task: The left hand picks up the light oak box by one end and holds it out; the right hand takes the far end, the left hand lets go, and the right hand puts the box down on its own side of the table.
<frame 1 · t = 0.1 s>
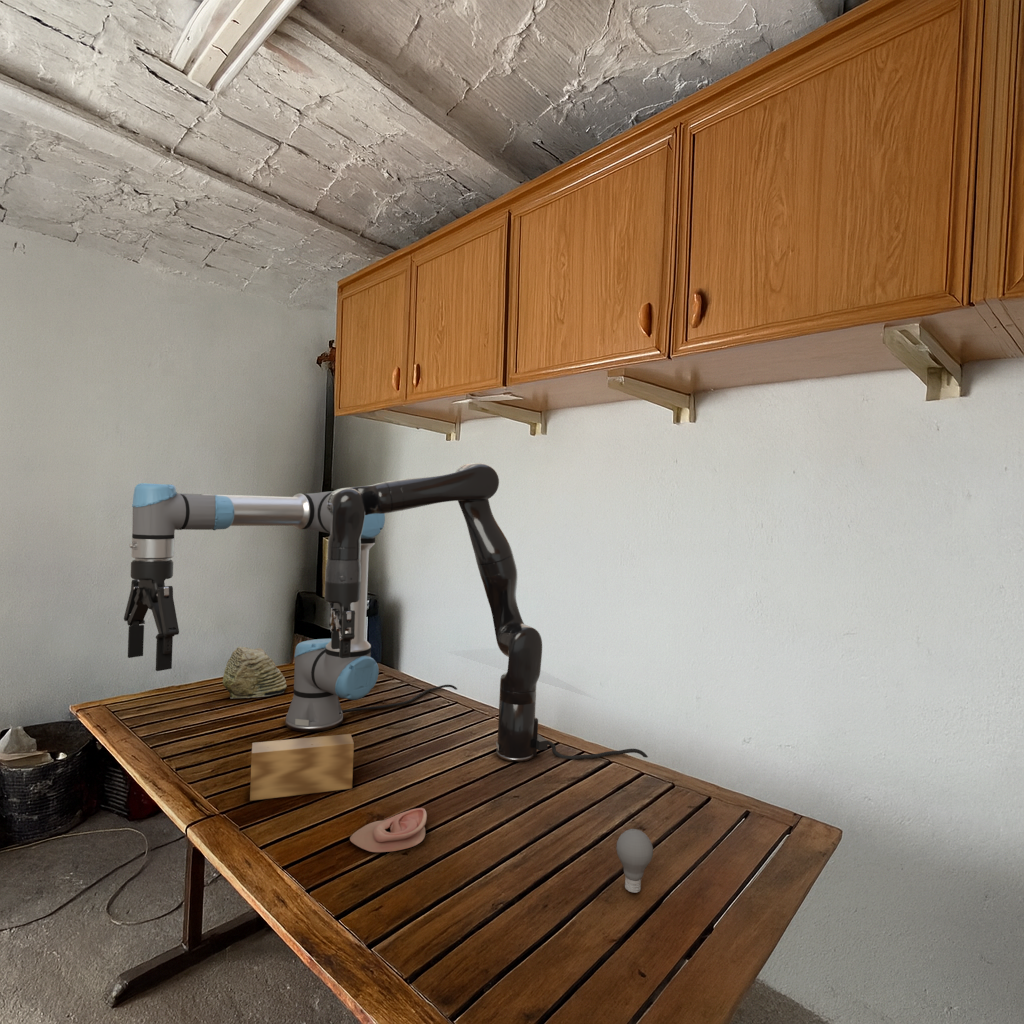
left hand: (149, 663, 129), 28 cm above the table, tool pointing down, fingers open, 13 cm apart
right hand: (340, 653, 139), 29 cm above the table, tool pointing down, fingers open, 8 cm apart
box: (301, 788, 137), on the table
anatomical model: (388, 837, 119), on the table
fossil: (254, 694, 198), on the table
light bulb: (632, 891, 106), on the table
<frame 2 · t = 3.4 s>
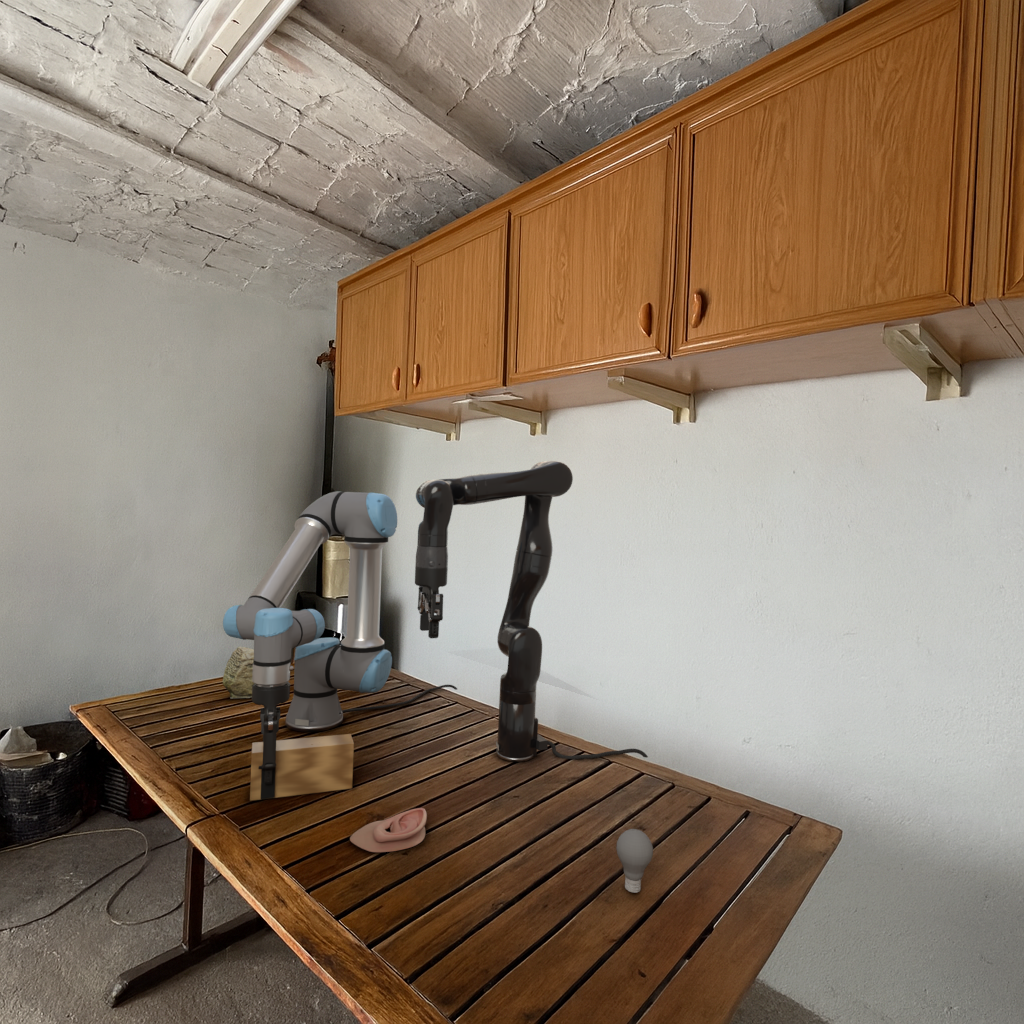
left hand: (267, 790, 135), 0 cm above the table, tool pointing down, fingers closed on box, 6 cm apart
right hand: (428, 634, 148), 32 cm above the table, tool pointing down, fingers open, 8 cm apart
box: (301, 788, 137), on the table, touching left hand
everything else where it was.
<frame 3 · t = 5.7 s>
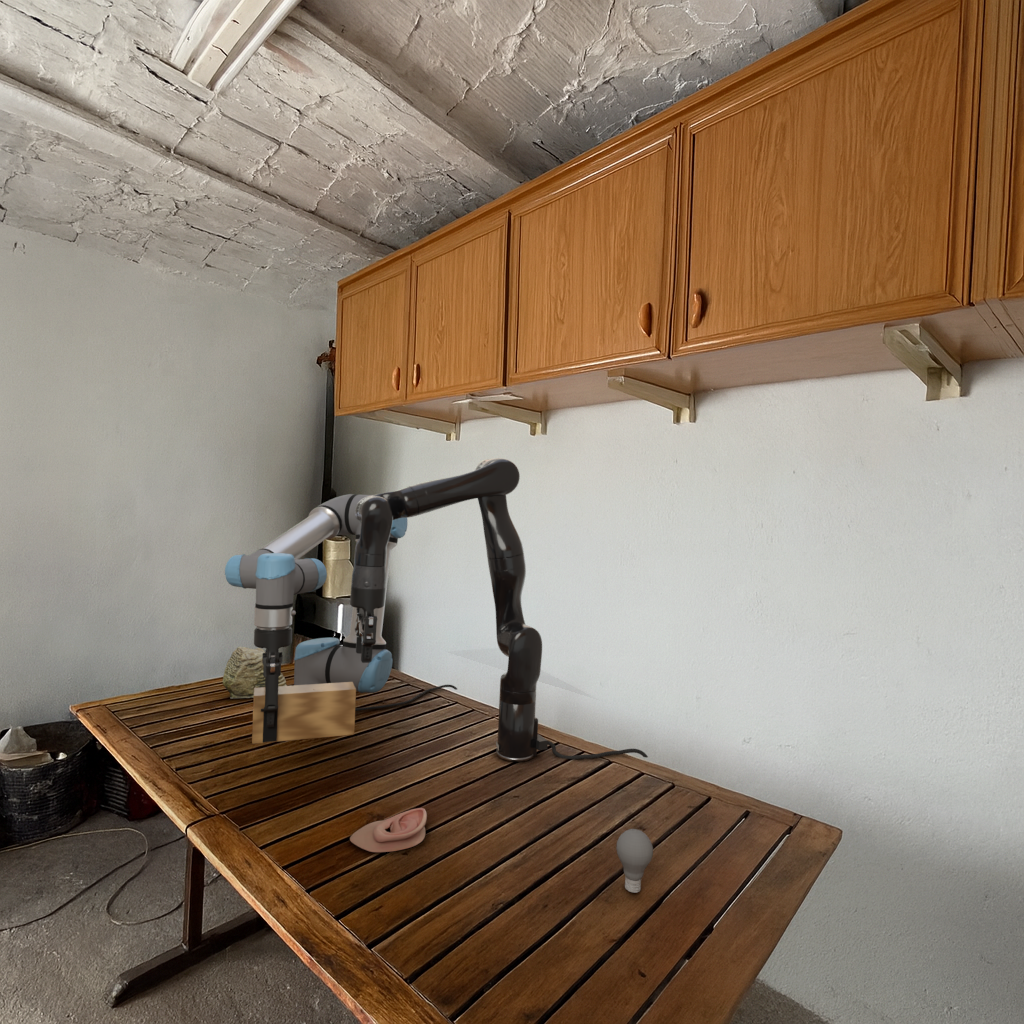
left hand: (269, 735, 134), 12 cm above the table, tool pointing down, fingers closed on box, 6 cm apart
right hand: (363, 657, 142), 28 cm above the table, tool pointing down, fingers open, 8 cm apart
box: (303, 734, 137), point 12 cm above the table, touching left hand
everything else where it was.
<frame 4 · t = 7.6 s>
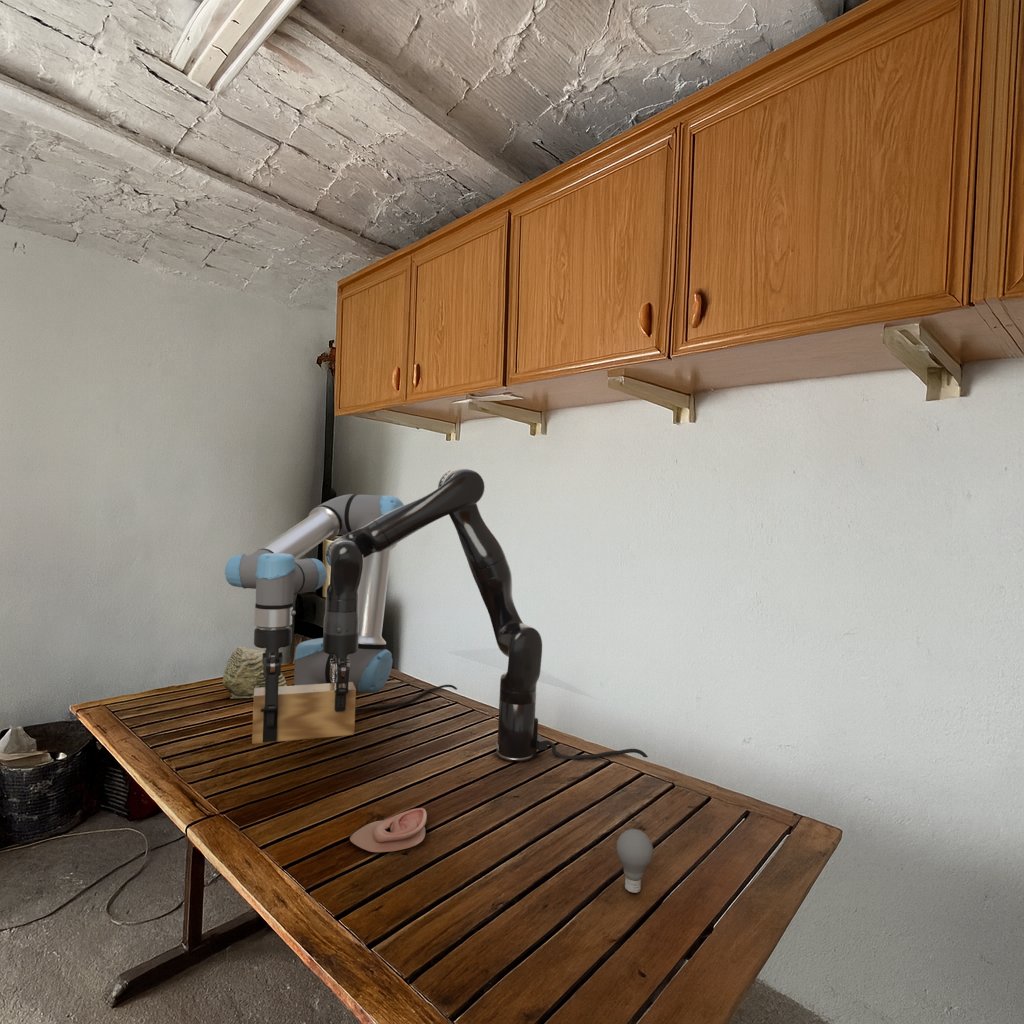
left hand: (269, 735, 134), 12 cm above the table, tool pointing down, fingers closed on box, 6 cm apart
right hand: (338, 705, 139), 17 cm above the table, tool pointing down, fingers closed on box, 5 cm apart
box: (303, 734, 137), point 12 cm above the table, touching left hand, right hand
everything else where it was.
when the left hand's fingers open (12 cm above the table, at t = 8.5 s): box stays where it is, held by the right hand.
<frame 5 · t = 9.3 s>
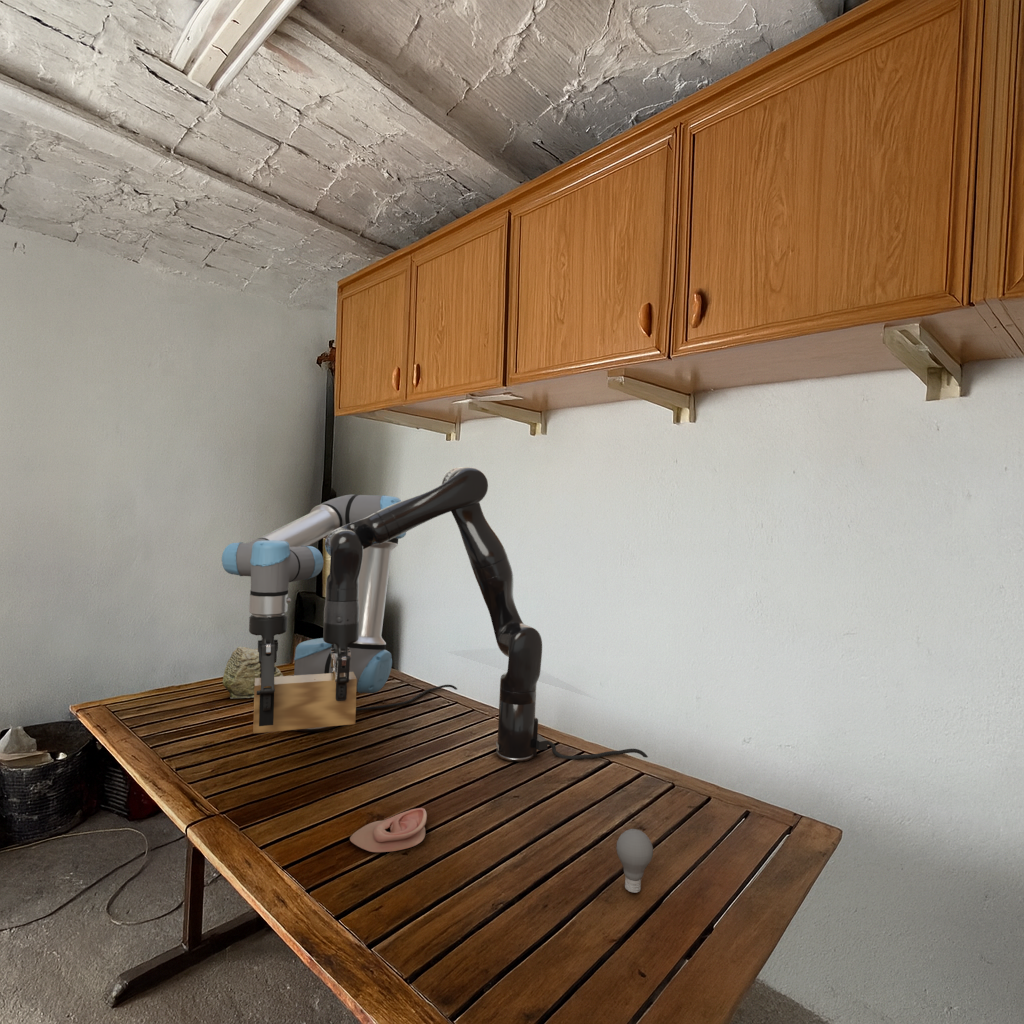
left hand: (265, 713, 134), 17 cm above the table, tool pointing down, fingers open, 13 cm apart
right hand: (339, 695, 139), 20 cm above the table, tool pointing down, fingers closed on box, 5 cm apart
box: (304, 724, 137), point 14 cm above the table, touching right hand
everything else where it was.
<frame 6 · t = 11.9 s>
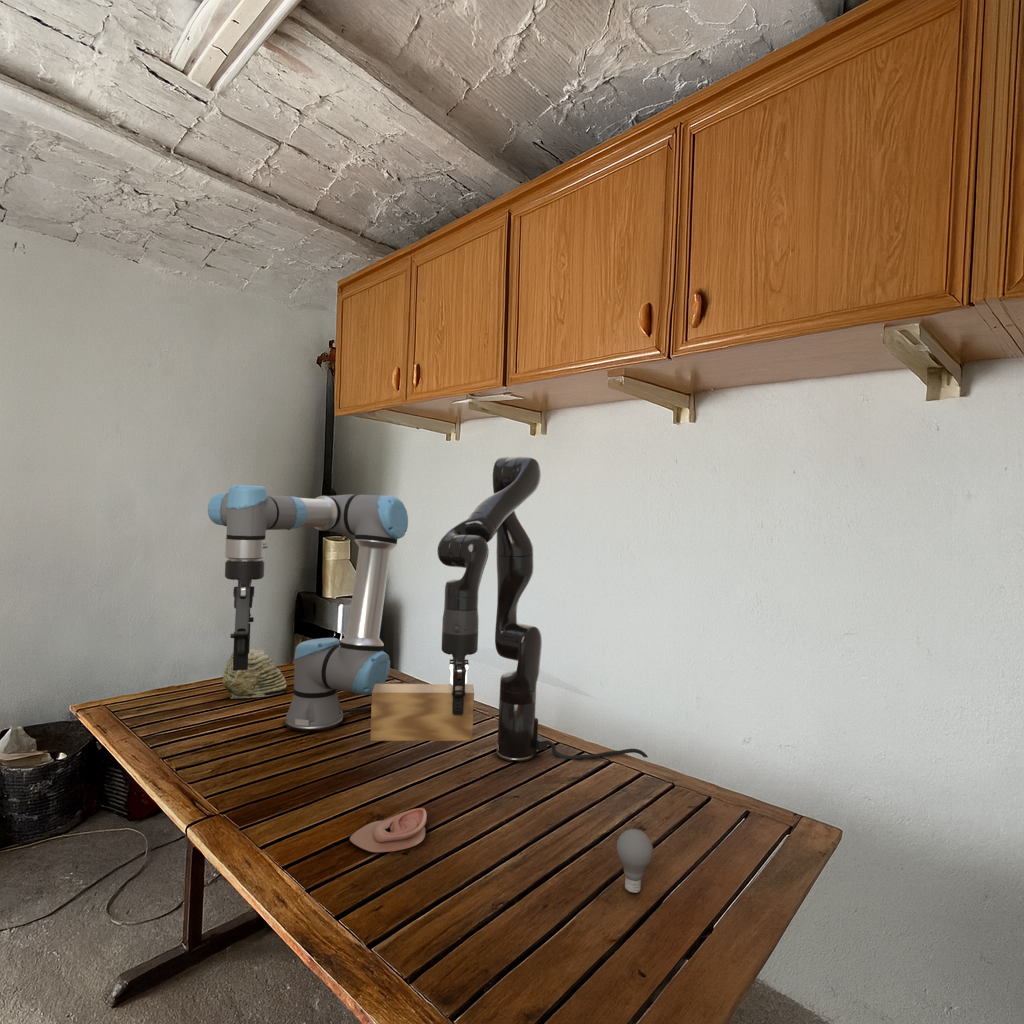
left hand: (241, 661, 132), 28 cm above the table, tool pointing down, fingers open, 13 cm apart
right hand: (457, 708, 133), 20 cm above the table, tool pointing down, fingers closed on box, 5 cm apart
box: (422, 735, 132), point 15 cm above the table, touching right hand
everything else where it was.
when the right hand's fingers open (7 cm above the table, at t = 16.6 s): box drops 2 cm, on the table.
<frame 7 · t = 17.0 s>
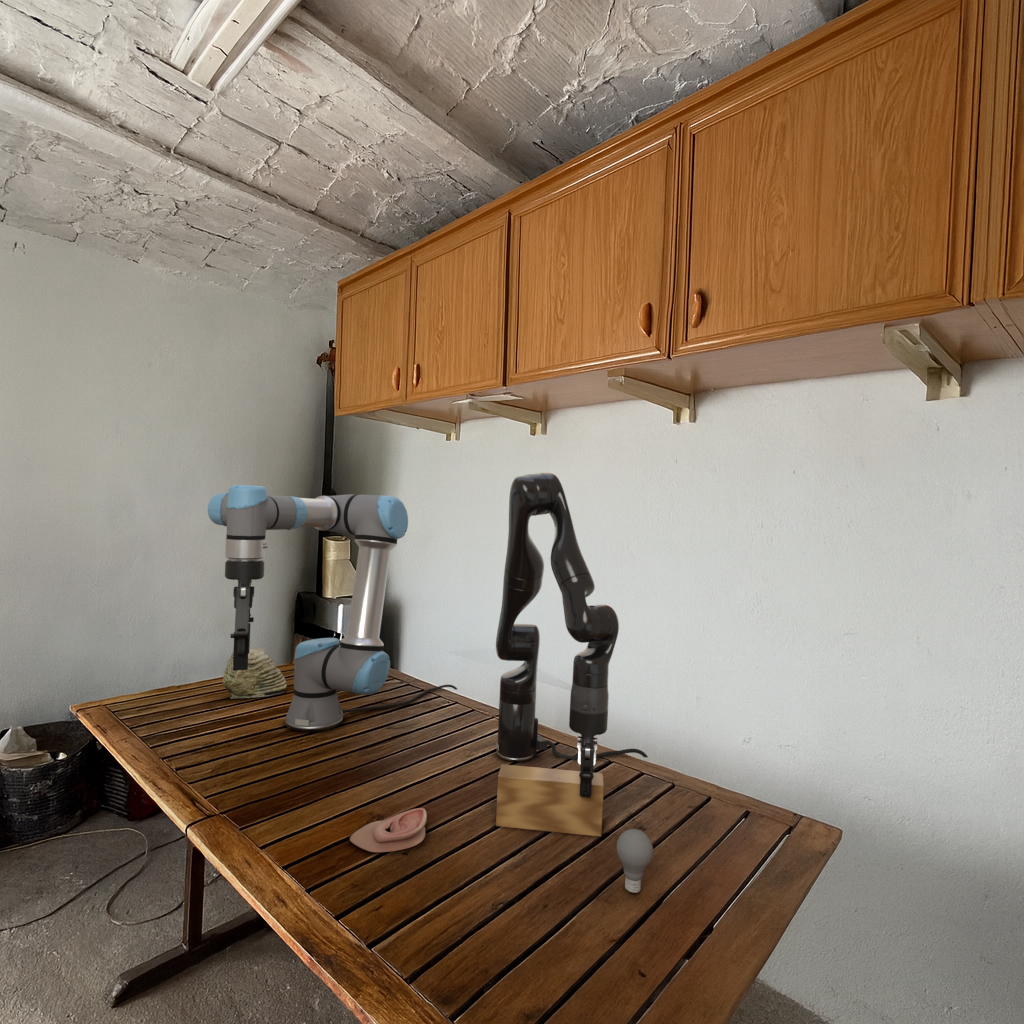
left hand: (241, 661, 132), 28 cm above the table, tool pointing down, fingers open, 13 cm apart
right hand: (585, 786, 126), 8 cm above the table, tool pointing down, fingers open, 8 cm apart
box: (548, 824, 127), on the table
everything else where it was.
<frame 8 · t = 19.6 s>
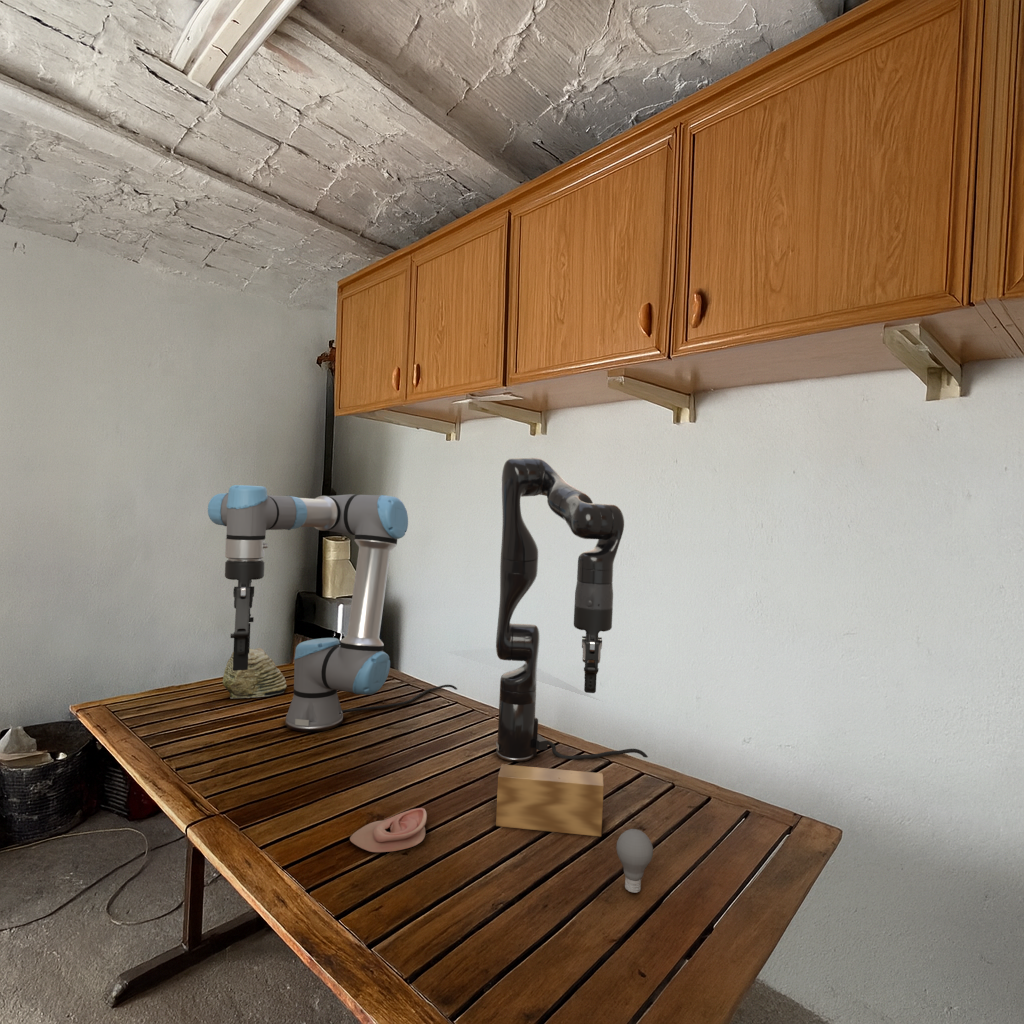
left hand: (241, 661, 132), 28 cm above the table, tool pointing down, fingers open, 13 cm apart
right hand: (589, 686, 125), 28 cm above the table, tool pointing down, fingers open, 8 cm apart
nothing on the table moved.
at the end: box inside the target area (6.9 cm from its centre), on the table; the left hand is holding nothing; the right hand is holding nothing; box at rest at the end (0.0 cm/s) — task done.
